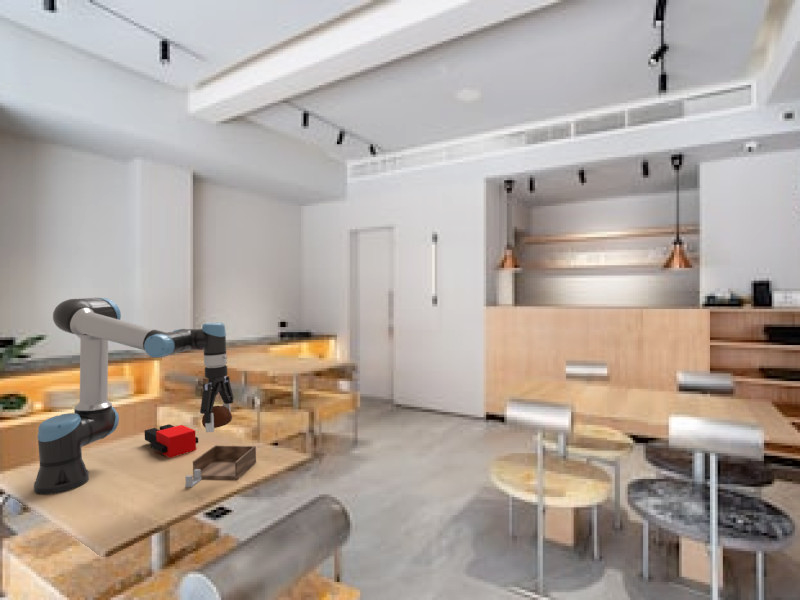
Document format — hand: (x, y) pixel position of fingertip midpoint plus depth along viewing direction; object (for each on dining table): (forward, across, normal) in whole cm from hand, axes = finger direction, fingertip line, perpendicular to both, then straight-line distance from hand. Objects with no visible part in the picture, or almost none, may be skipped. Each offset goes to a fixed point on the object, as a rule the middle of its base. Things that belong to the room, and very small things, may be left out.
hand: (218, 426), depth 157 cm
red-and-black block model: (+17, +24, +37) cm, 47 cm away
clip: (+18, -8, +6) cm, 20 cm away
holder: (+18, +4, 0) cm, 18 cm away
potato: (0, 0, 0) cm, 1 cm away
